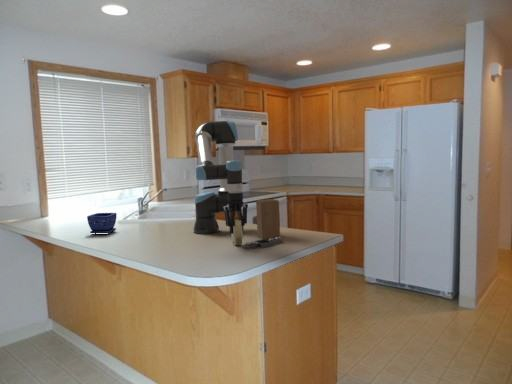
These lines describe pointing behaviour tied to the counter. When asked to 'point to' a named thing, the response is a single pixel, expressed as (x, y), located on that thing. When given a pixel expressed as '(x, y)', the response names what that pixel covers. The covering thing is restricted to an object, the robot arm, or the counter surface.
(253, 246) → the ball-studded metal bracket
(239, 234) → the pin
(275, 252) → the counter surface
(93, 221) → the flower pot
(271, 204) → the wooden block
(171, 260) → the counter surface
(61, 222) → the counter surface
